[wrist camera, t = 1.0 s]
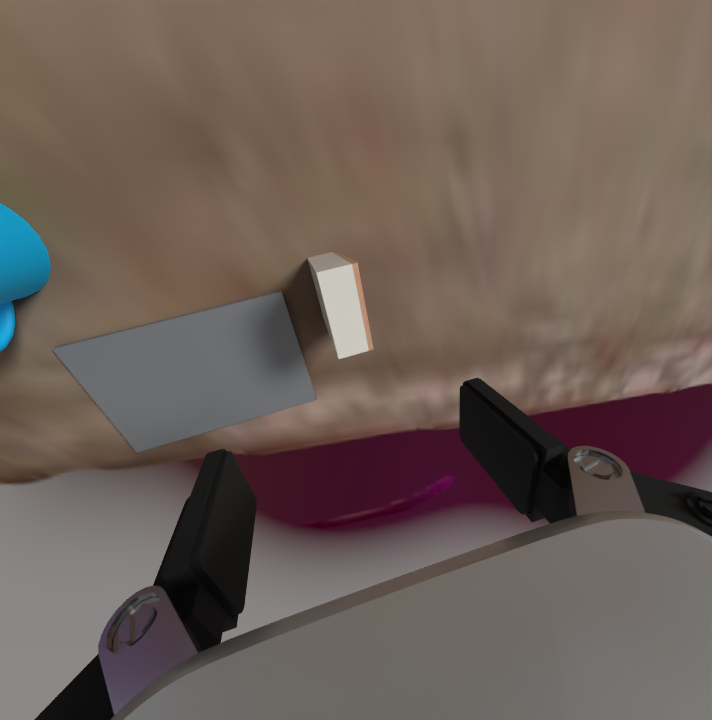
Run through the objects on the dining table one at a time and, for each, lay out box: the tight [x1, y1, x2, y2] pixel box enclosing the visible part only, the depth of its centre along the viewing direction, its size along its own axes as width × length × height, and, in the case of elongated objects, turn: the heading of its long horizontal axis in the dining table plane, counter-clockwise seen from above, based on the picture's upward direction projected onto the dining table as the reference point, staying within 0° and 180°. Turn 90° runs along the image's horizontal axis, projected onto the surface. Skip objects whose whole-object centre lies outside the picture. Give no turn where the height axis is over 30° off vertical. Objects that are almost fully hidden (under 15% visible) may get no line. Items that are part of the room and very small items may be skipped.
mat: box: [52, 291, 317, 453], centre depth 30 cm, size 14×22×1 cm, turn 102°
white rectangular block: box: [307, 251, 373, 359], centre depth 25 cm, size 7×3×10 cm, turn 12°
